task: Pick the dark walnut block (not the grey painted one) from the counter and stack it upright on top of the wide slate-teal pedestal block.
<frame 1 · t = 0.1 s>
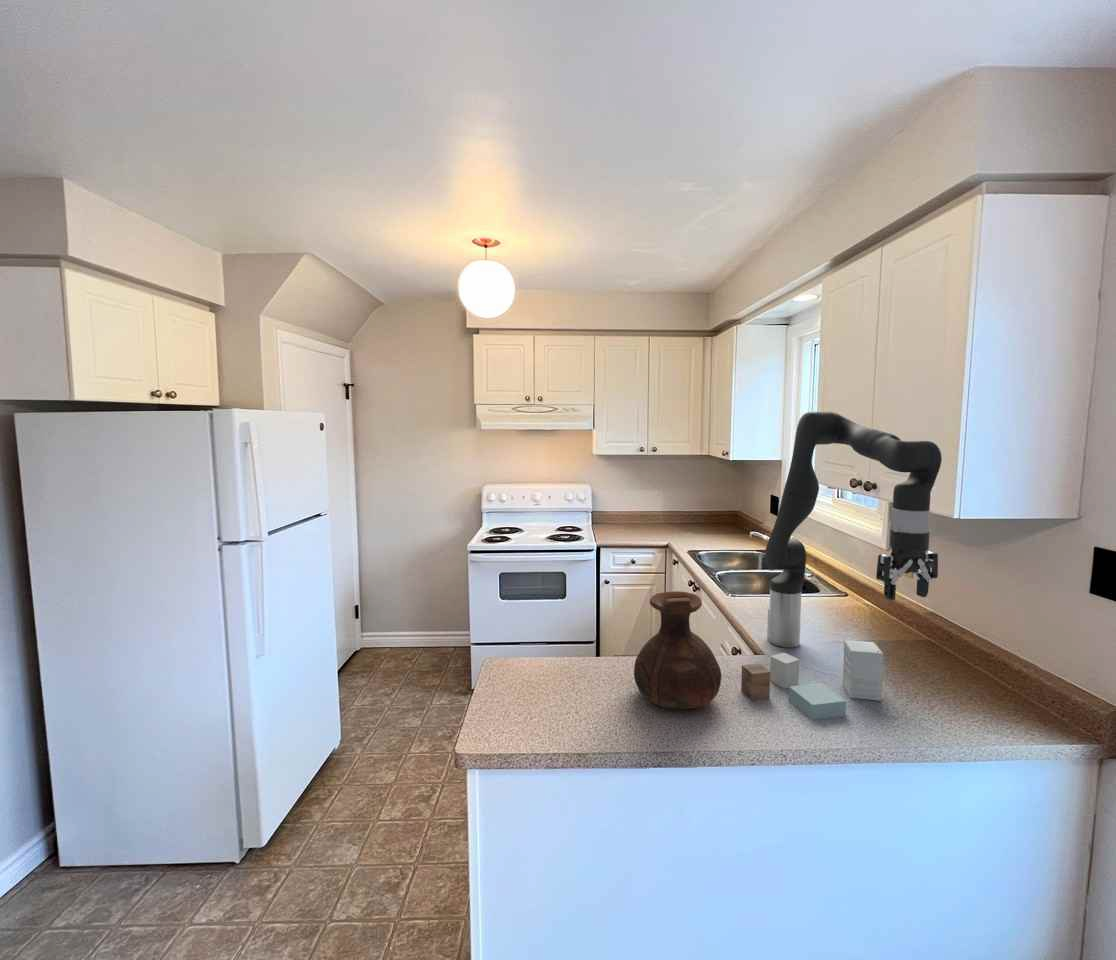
hand: (905, 597, 122), 29 cm above the counter, fingers open, 8 cm apart
walnut block: (755, 694, 136), on the counter
brown vase: (675, 699, 134), on the counter
pedestal block: (816, 708, 129), on the counter
supplement box: (860, 693, 136), on the counter
grey block: (784, 682, 142), on the counter
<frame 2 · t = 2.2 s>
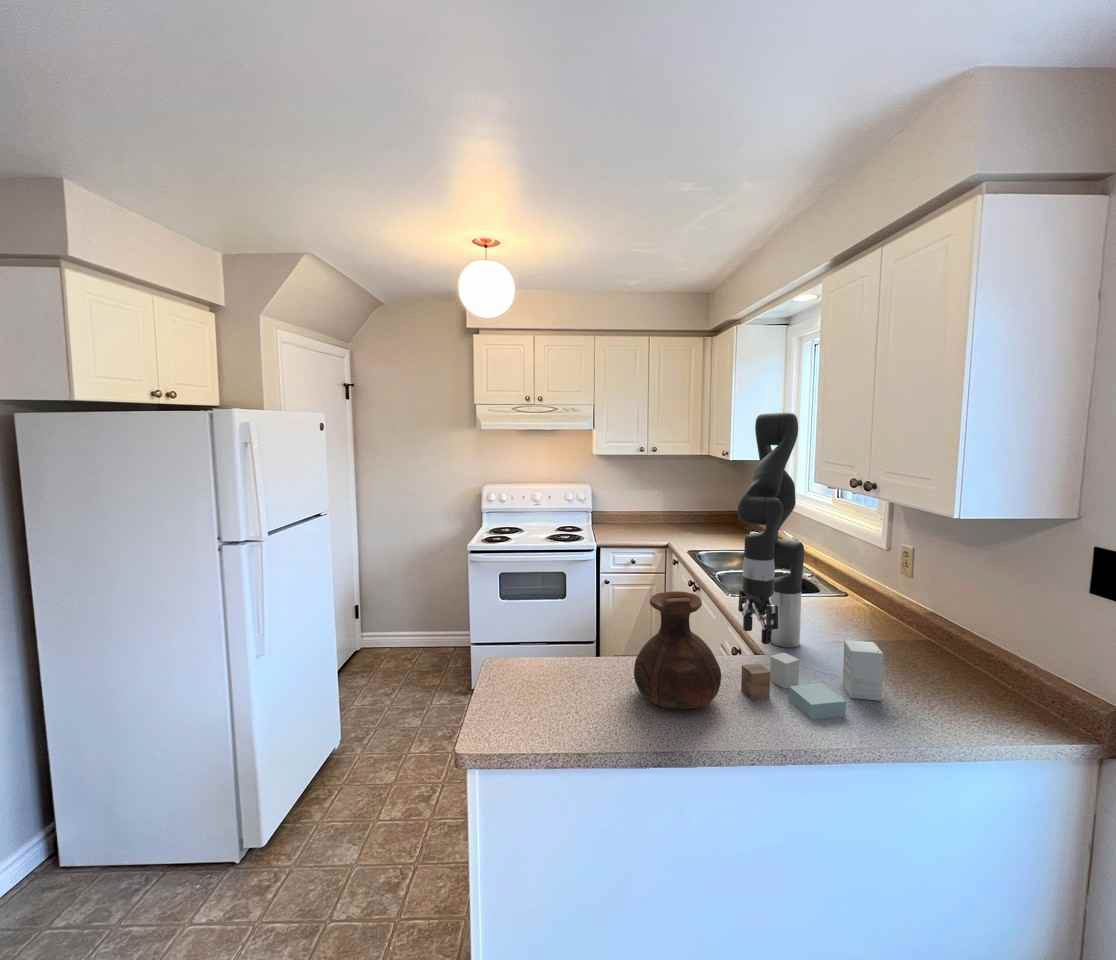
hand: (756, 636, 134), 15 cm above the counter, fingers open, 8 cm apart
nothing on the counter moved.
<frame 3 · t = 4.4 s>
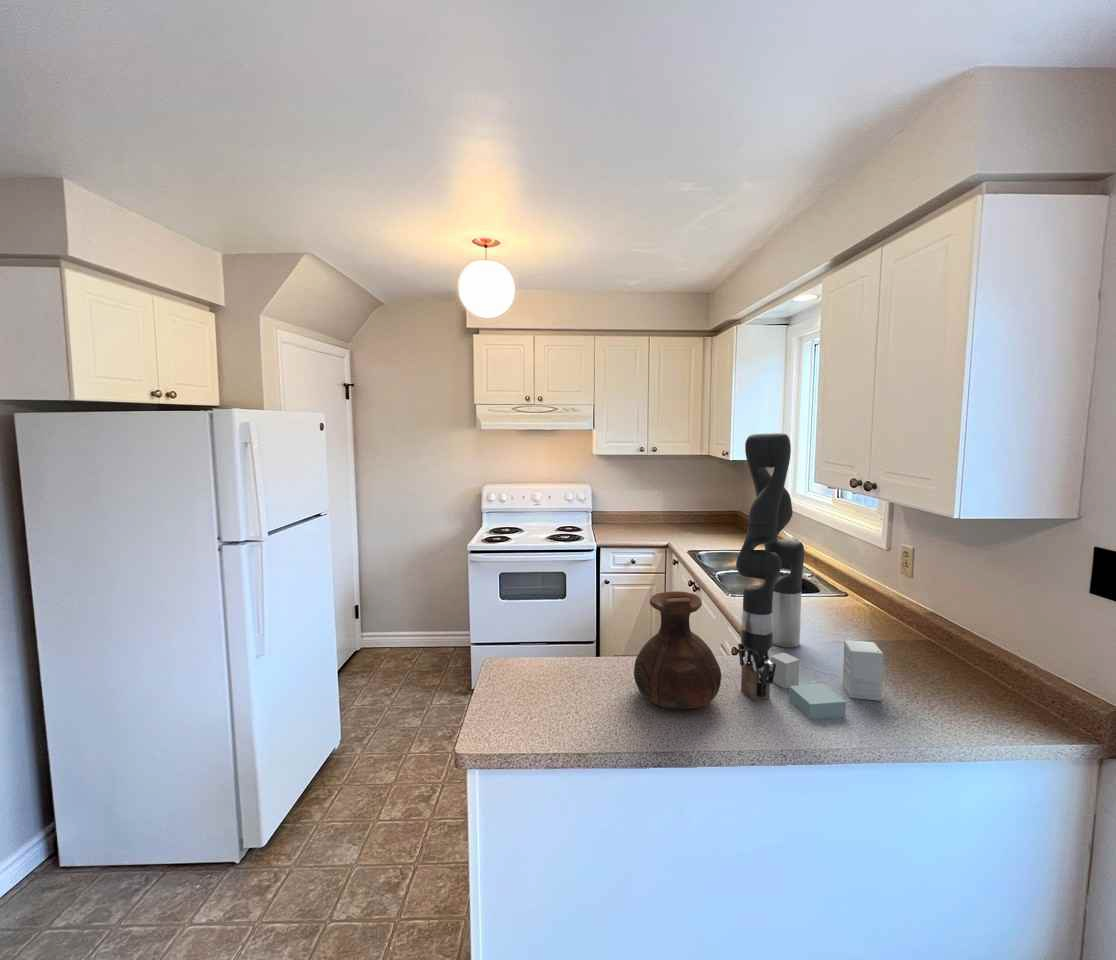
hand: (755, 690, 136), 1 cm above the counter, fingers closed on walnut block, 5 cm apart
walnut block: (755, 694, 136), on the counter, touching gripper
everything else where it was.
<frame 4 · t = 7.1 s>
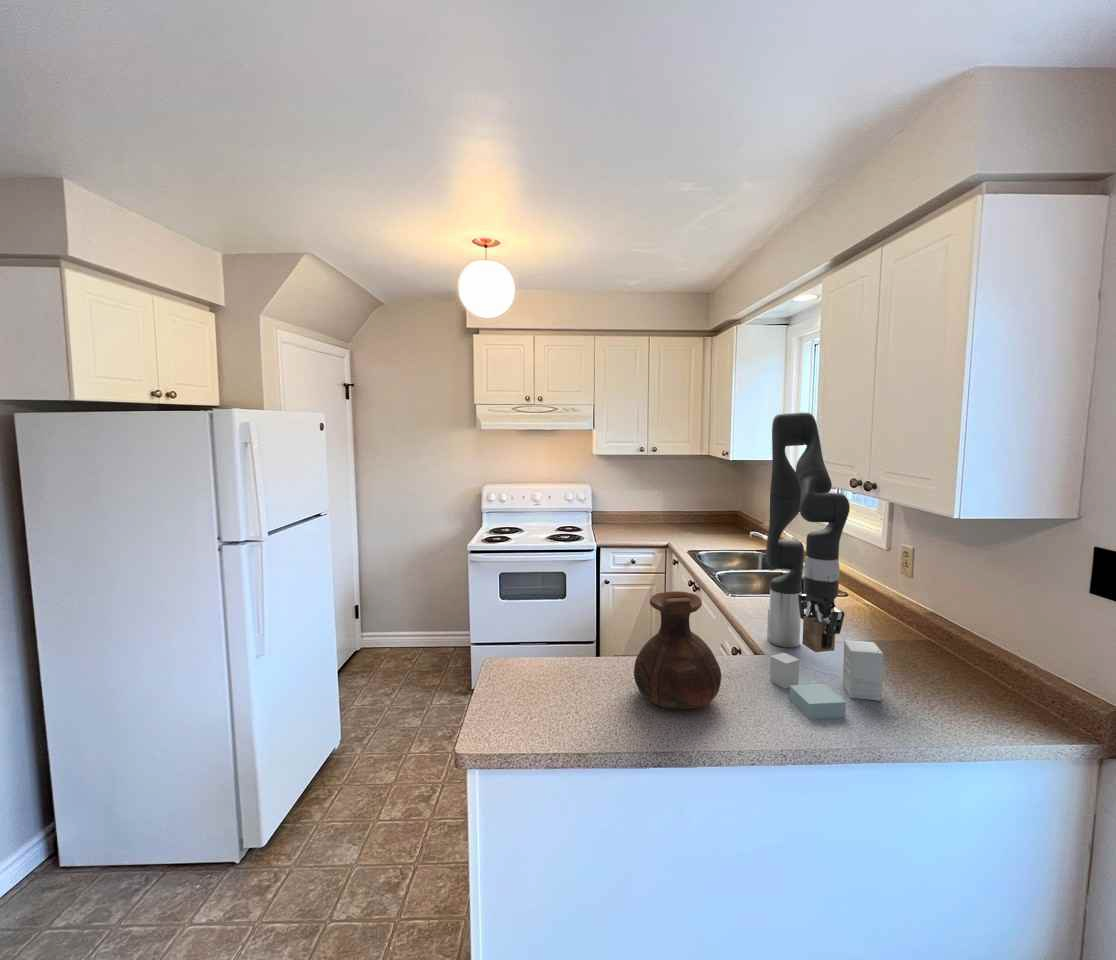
hand: (818, 643, 128), 16 cm above the counter, fingers closed on walnut block, 5 cm apart
walnut block: (818, 647, 128), point 15 cm above the counter, touching gripper
everything else where it was.
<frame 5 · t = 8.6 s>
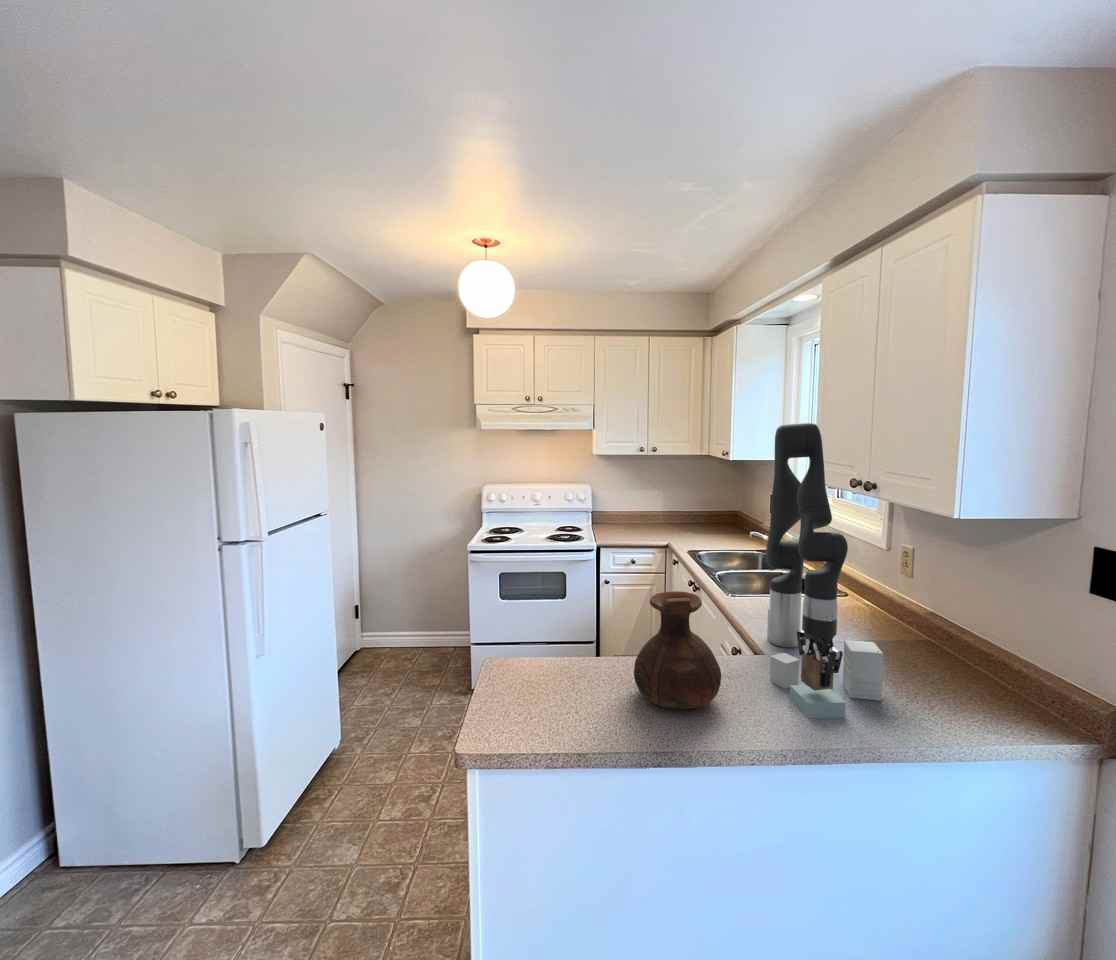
hand: (817, 680, 128), 7 cm above the counter, fingers closed on walnut block, 5 cm apart
walnut block: (816, 684, 129), point 6 cm above the counter, touching gripper
everything else where it was.
when the fingers open (6 cm above the counter, at t = 9.7 s): walnut block drops 1 cm, point 4 cm above the counter.
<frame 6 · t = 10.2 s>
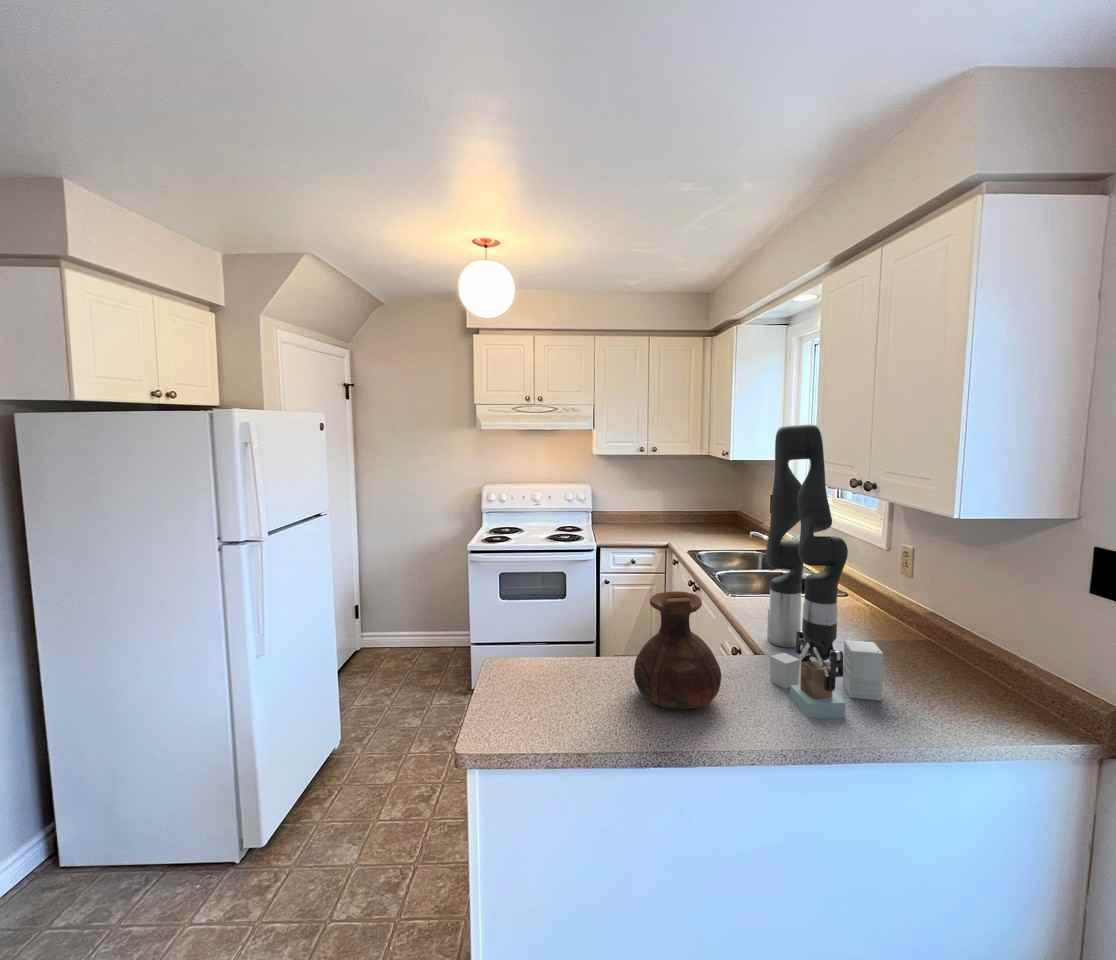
hand: (817, 681, 129), 7 cm above the counter, fingers open, 8 cm apart
walnut block: (816, 692, 129), point 4 cm above the counter
everything else where it was.
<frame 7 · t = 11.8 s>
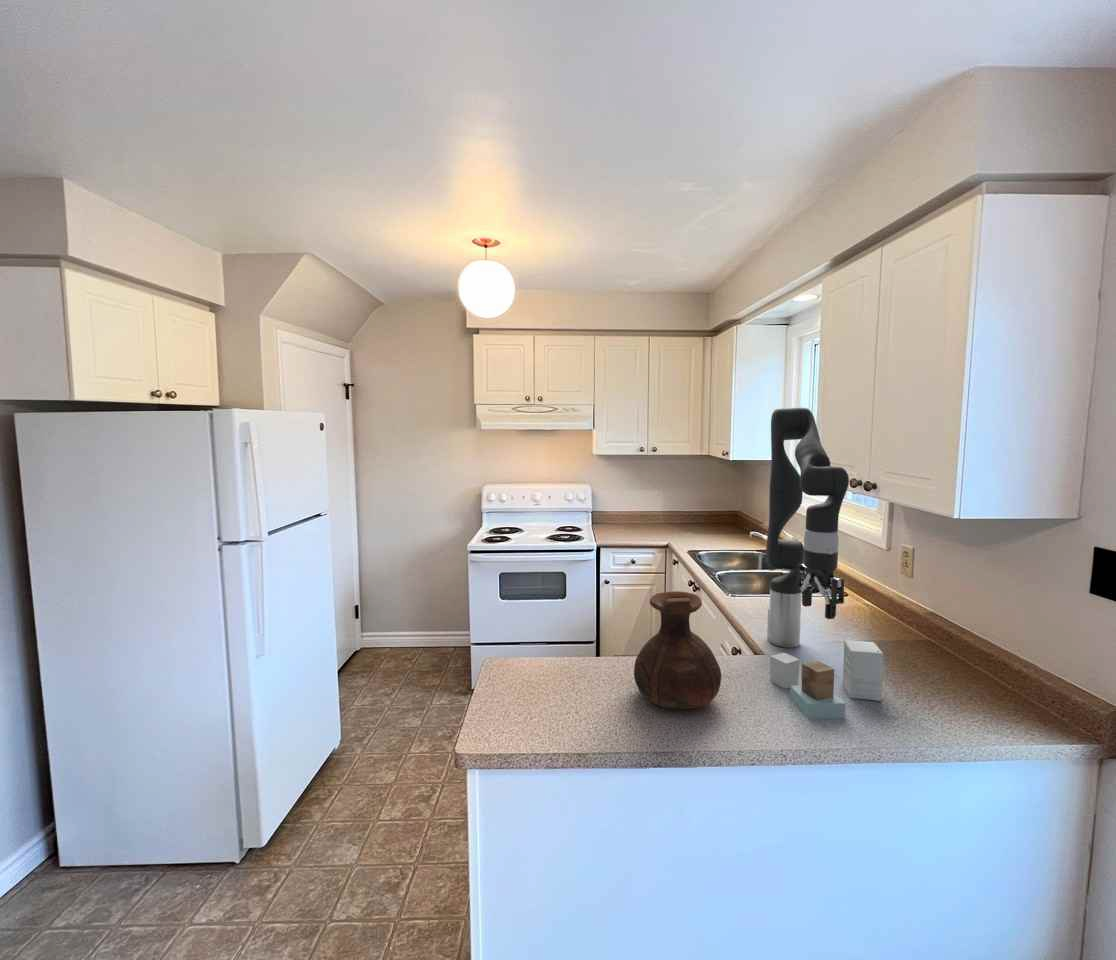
hand: (818, 612, 130), 23 cm above the counter, fingers open, 8 cm apart
walnut block: (817, 693, 129), point 4 cm above the counter, touching pedestal block
pedestal block: (816, 709, 129), on the counter, touching walnut block
everything else where it was.
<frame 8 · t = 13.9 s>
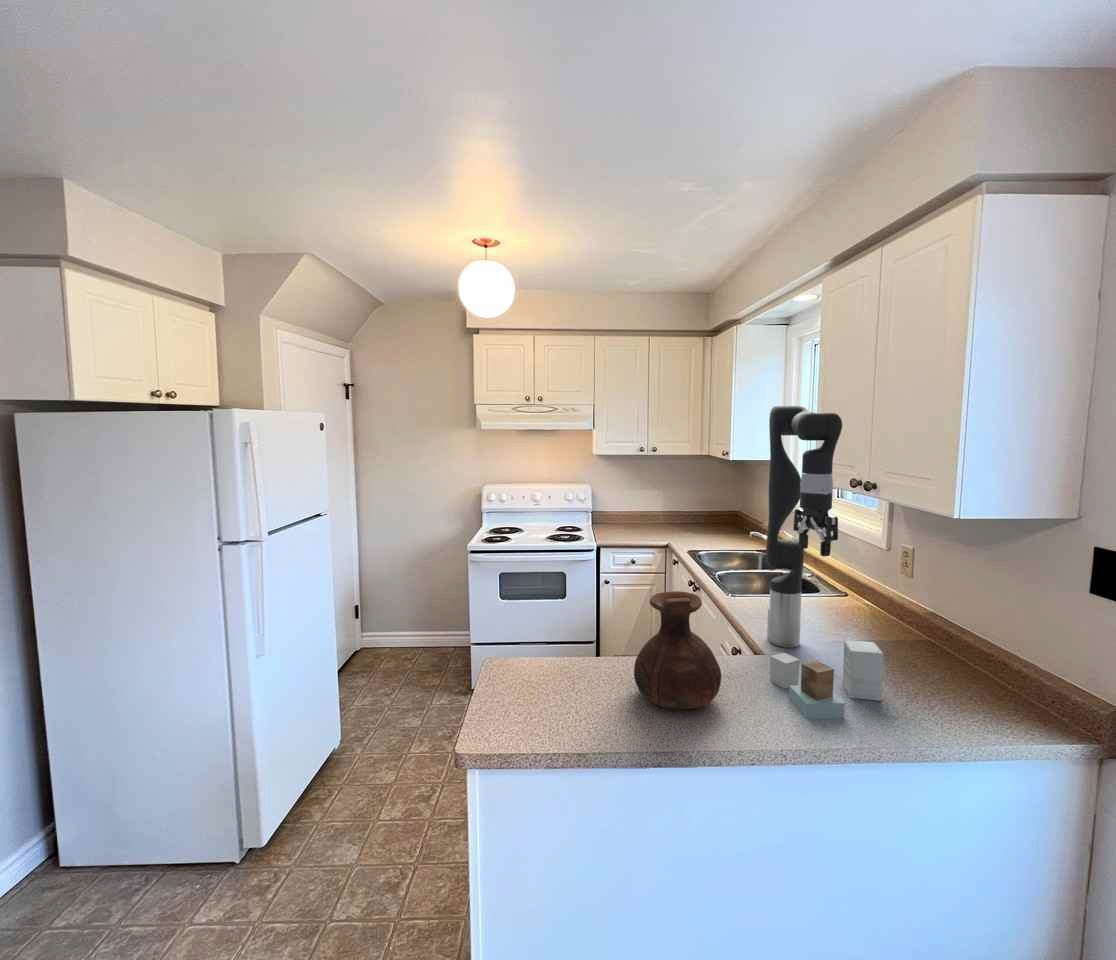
hand: (813, 552, 137), 36 cm above the counter, fingers open, 8 cm apart
nothing on the counter moved.
at the end: walnut block 0.3 cm off-centre on the pedestal block, point 4.0 cm above the pedestal block's base; walnut block tilted 0°; the gripper is holding nothing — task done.
